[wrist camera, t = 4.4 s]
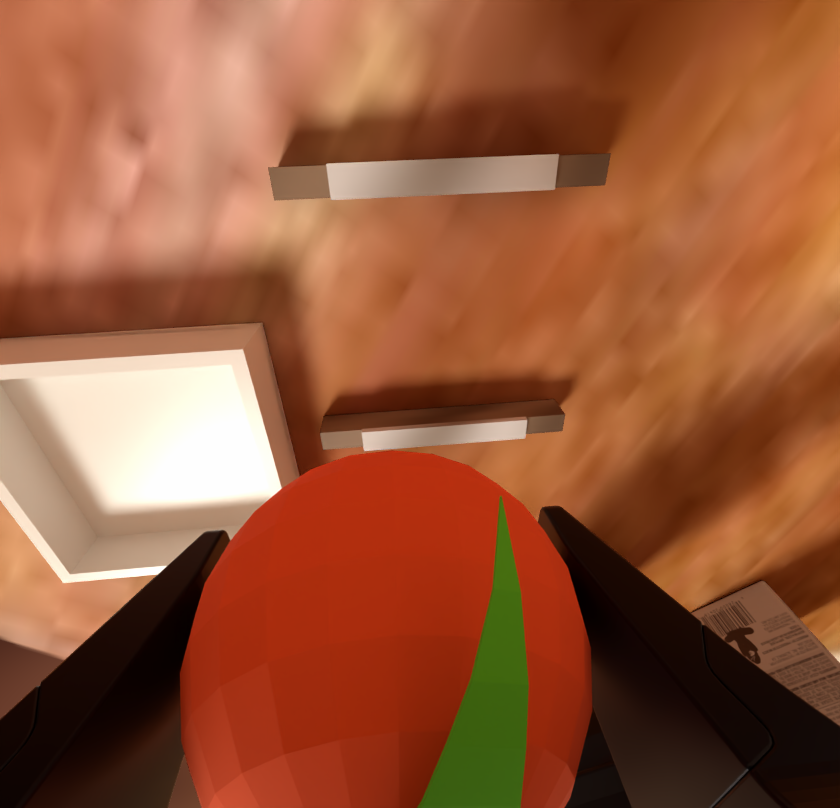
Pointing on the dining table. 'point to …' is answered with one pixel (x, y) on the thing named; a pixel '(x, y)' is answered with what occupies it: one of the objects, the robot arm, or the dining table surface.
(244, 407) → the bin
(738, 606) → the coffee box
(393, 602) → the clementine
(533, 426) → the cradle
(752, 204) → the dining table surface
